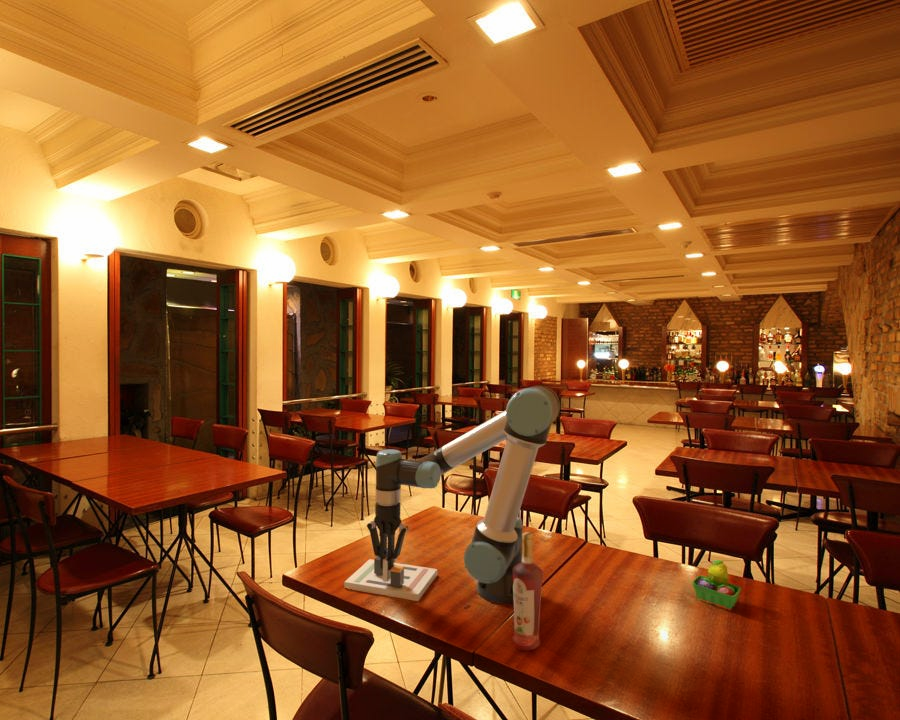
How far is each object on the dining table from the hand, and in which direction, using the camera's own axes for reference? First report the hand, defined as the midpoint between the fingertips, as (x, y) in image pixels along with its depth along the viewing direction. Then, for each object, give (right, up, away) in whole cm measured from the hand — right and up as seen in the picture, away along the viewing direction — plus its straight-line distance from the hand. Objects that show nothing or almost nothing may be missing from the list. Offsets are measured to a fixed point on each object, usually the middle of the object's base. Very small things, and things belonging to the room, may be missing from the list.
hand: (386, 579), depth 148 cm
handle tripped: (+3, -1, -1) cm, 4 cm away
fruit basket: (+97, -5, -4) cm, 98 cm away
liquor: (+38, -5, -26) cm, 46 cm away
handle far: (-1, -1, +13) cm, 13 cm away
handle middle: (-3, -1, +7) cm, 8 cm away
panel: (+1, -3, +6) cm, 7 cm away
